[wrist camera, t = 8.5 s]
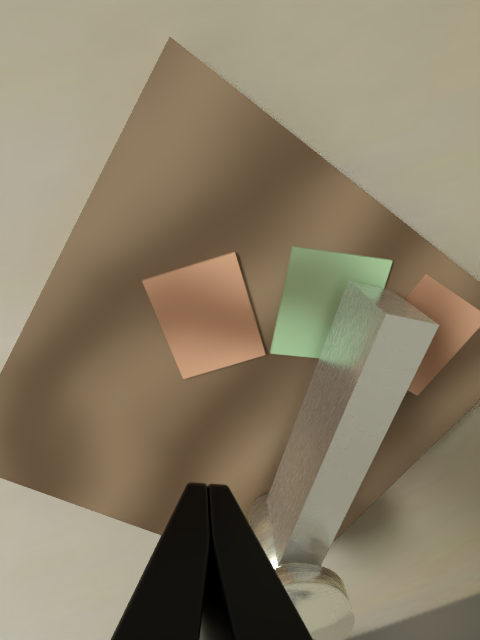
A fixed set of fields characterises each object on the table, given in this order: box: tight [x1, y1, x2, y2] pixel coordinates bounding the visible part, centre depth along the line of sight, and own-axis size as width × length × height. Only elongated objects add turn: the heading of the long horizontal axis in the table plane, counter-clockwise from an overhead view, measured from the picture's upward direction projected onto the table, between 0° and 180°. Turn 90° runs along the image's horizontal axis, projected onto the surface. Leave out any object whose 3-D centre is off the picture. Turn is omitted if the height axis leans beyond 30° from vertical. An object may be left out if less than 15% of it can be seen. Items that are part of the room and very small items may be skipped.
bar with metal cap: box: [248, 281, 439, 640], centre depth 17 cm, size 16×5×6 cm, turn 166°
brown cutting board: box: [0, 37, 480, 541], centre depth 19 cm, size 21×21×2 cm
